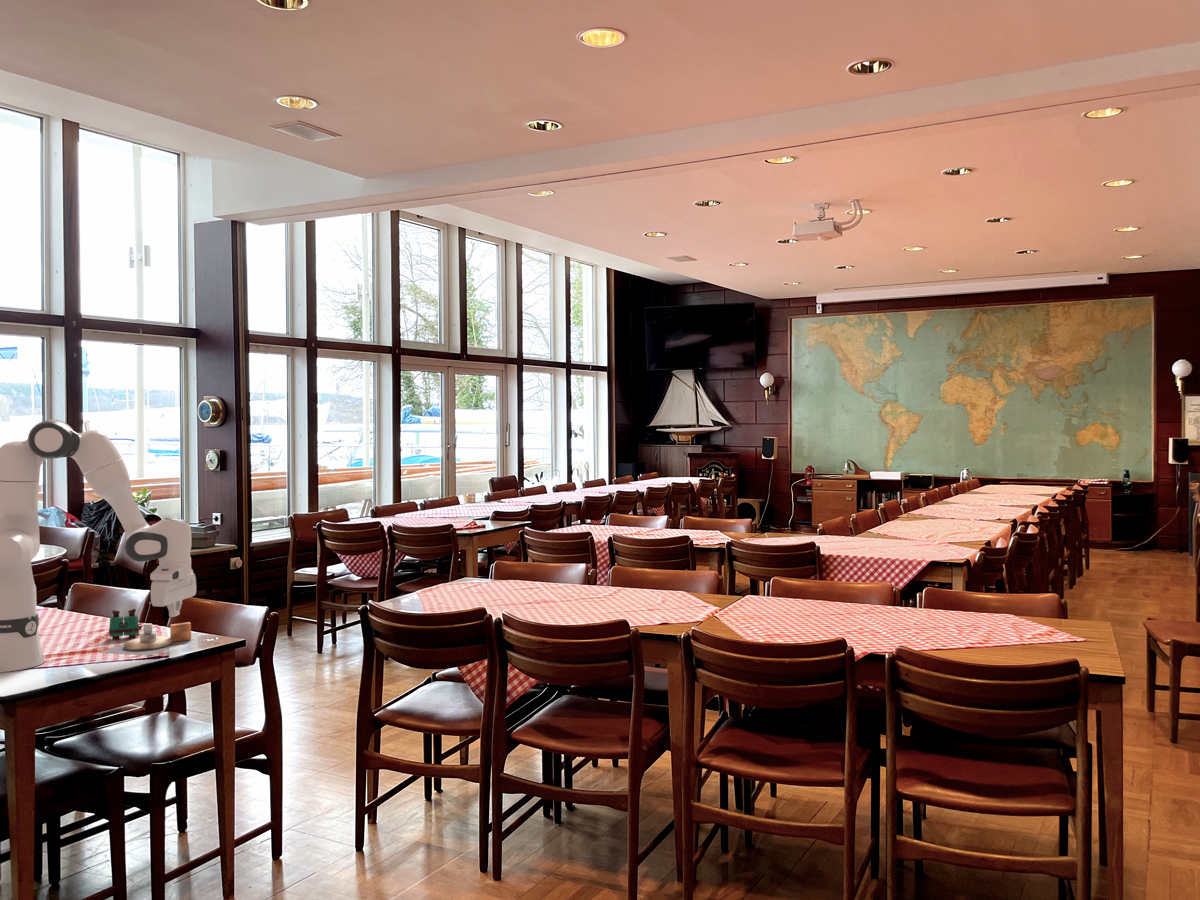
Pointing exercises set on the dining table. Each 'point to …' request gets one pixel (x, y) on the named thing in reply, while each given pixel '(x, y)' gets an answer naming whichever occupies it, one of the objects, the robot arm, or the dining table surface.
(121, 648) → the base plate
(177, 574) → the robot arm
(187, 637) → the maple flange
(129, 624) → the binoculars
